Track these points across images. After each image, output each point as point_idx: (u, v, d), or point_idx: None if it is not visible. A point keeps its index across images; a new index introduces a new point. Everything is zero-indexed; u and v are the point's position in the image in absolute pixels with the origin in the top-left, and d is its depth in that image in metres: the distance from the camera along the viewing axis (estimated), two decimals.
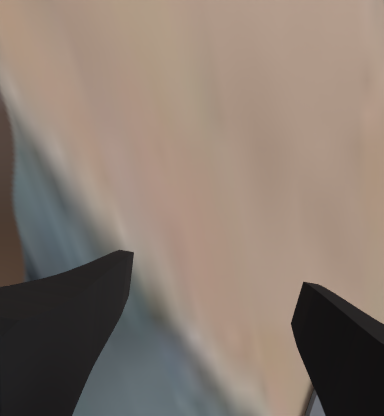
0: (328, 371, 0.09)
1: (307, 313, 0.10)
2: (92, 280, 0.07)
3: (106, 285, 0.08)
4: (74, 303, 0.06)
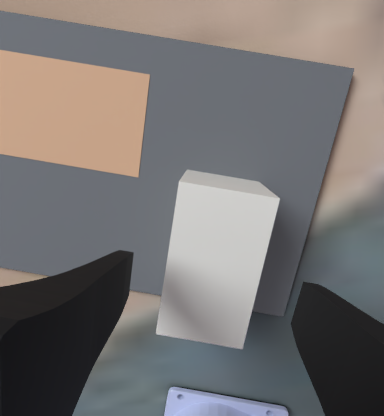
0: (328, 371, 0.09)
1: (307, 313, 0.10)
2: (92, 280, 0.07)
3: (106, 285, 0.08)
4: (74, 303, 0.06)
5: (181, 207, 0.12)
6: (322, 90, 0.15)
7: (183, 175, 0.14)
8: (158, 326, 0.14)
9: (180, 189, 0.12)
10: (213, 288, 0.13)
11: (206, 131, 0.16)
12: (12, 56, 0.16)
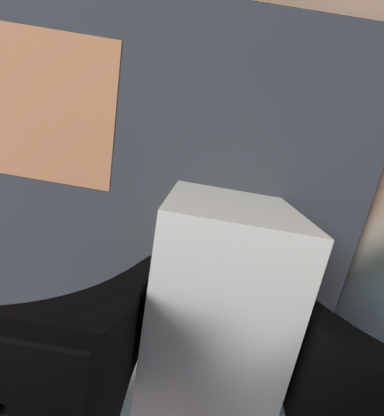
0: None
1: None
2: (137, 288, 0.07)
3: (146, 292, 0.08)
4: (128, 313, 0.06)
5: (162, 252, 0.07)
6: (380, 63, 0.10)
7: (169, 193, 0.09)
8: None
9: (160, 223, 0.07)
10: (217, 379, 0.08)
11: (206, 125, 0.11)
12: None
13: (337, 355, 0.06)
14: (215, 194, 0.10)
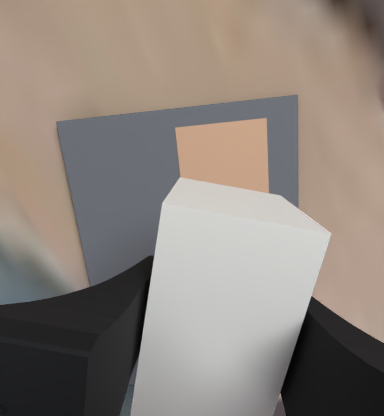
0: None
1: None
2: (137, 288, 0.07)
3: (146, 292, 0.08)
4: (128, 312, 0.06)
5: (165, 244, 0.07)
6: None
7: (172, 189, 0.09)
8: None
9: (164, 216, 0.07)
10: (217, 369, 0.08)
11: None
12: (263, 141, 0.18)
13: (338, 355, 0.06)
14: (216, 190, 0.10)
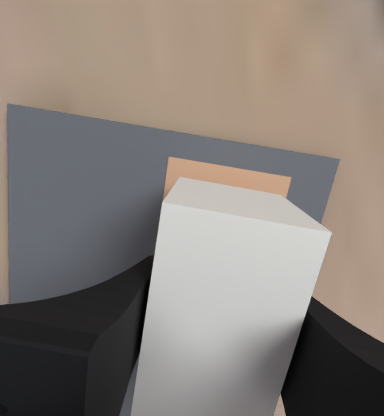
0: None
1: None
2: (137, 288, 0.07)
3: (146, 292, 0.08)
4: (128, 312, 0.06)
5: (166, 244, 0.07)
6: None
7: (172, 188, 0.09)
8: None
9: (164, 215, 0.07)
10: (218, 368, 0.08)
11: None
12: None
13: (338, 355, 0.06)
14: (216, 190, 0.10)
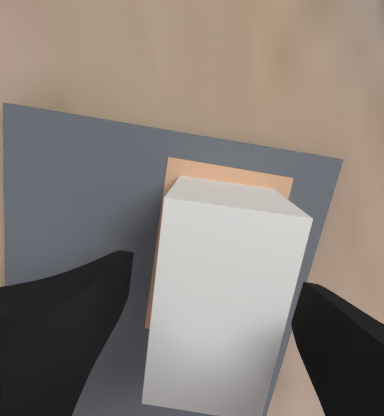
0: (328, 371, 0.09)
1: (307, 313, 0.10)
2: (92, 280, 0.07)
3: (106, 285, 0.08)
4: (74, 303, 0.06)
5: (168, 234, 0.08)
6: None
7: (173, 186, 0.10)
8: (144, 394, 0.10)
9: (166, 209, 0.08)
10: (218, 344, 0.09)
11: None
12: None
13: None
14: (213, 186, 0.11)
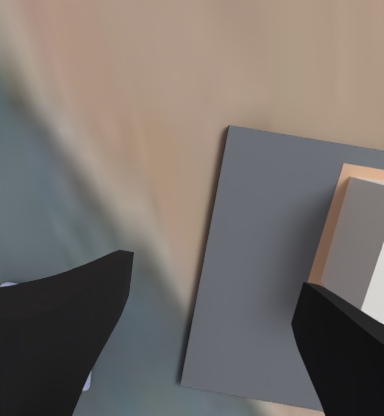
0: (328, 371, 0.09)
1: (307, 313, 0.10)
2: (92, 280, 0.07)
3: (106, 285, 0.08)
4: (74, 303, 0.06)
5: None
6: None
7: (377, 183, 0.16)
8: None
9: None
10: None
11: None
12: None
13: None
14: None
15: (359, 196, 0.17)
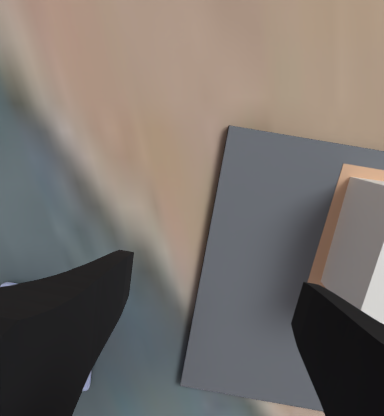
0: (328, 371, 0.09)
1: (307, 313, 0.10)
2: (92, 280, 0.07)
3: (106, 285, 0.08)
4: (74, 303, 0.06)
5: None
6: None
7: (377, 183, 0.16)
8: None
9: None
10: None
11: None
12: None
13: None
14: None
15: (359, 196, 0.17)
